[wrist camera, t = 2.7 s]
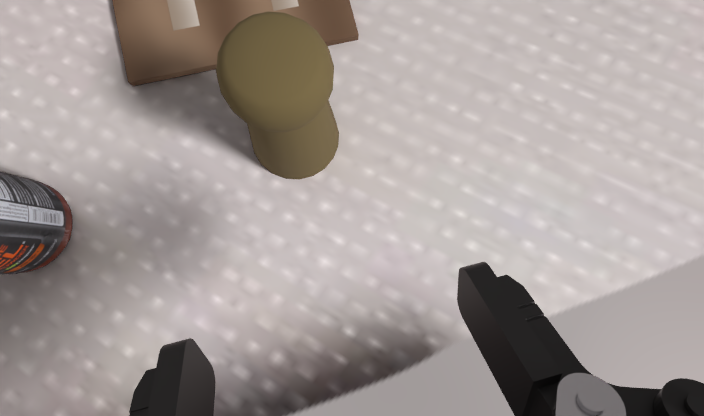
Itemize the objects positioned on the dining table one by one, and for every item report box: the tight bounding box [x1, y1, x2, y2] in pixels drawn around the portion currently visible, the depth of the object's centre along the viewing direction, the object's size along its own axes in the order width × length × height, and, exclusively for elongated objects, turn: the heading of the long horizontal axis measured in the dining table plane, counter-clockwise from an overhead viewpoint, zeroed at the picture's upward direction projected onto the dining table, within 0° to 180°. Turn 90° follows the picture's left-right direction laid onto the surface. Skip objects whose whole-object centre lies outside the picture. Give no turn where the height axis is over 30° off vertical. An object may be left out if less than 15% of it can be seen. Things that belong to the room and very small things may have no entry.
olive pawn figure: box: [216, 11, 339, 179], centre depth 21 cm, size 6×6×11 cm
